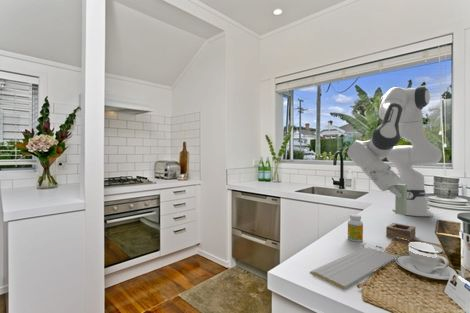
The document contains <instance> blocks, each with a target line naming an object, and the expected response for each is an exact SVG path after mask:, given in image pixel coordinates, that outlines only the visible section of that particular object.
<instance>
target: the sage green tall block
mask: <svg viewBox="0 0 470 313" xmlns="http://www.w3.org/2000/svg"><path fill="white" fill-rule="evenodd" d="M396 189H397V190H398V191H399V192H401V193H402V194H403V196H401V197H400V198H398V197H397V196H396V195H395V199H394V200H395V201H394V202H395V205H394V206H395V207H394V208H395V211H394V213H395V214H396V215H400V216H401V215H402V216H405V214H407V184H396Z"/></svg>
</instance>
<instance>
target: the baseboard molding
mask: <svg viewBox="0 0 470 313" xmlns="http://www.w3.org/2000/svg"><path fill="white" fill-rule="evenodd" d="M360 246H361V248H360V249H357V250H356V251H353V252H351V253H349V254H346V255H344V256H341V257H339V258H337V259H335V260H333V261H331V262H328V263H325V264H324V265H322V266H319V267H316V268H315V269H313V270H311V271H309V273H310V274H311V275H314V276H316V277H318V278H320V279H322V280H324V281H326V282H327V283H330V284H331V285H334V286H336V287H338V288H340V289H342V290H346V289H348V288H350V287H351V286H353V285H355V284H356V283H358V282H360V281H361V280H363V279H365V278H366V277H368V276H370V275H372V274H373V273H374V272H373V271H374V270H375V269H377V268H380V269H382V268H383V267H385V266H387V265H388V263H389V264H390V263H392V262H394V261H395V260H396V259H395V258H397V259H398V255H397V254H398V253H397V252H395V254H392V253H389V252H388V250H386V249H384V248H383V247H381V246H378V245H375V246H373V245H371V244H369V246H367V247H364V246H365V244H361V245H360ZM372 247H374V248H372ZM375 248H377V249H375ZM378 249H380V250H378ZM382 250H384V251H382ZM385 251H387V252H385ZM394 259H395V260H394ZM393 260H394V261H393ZM391 261H392V262H391ZM386 264H387V265H386ZM382 266H383V267H382ZM381 267H382V268H381ZM372 272H373V273H372ZM371 273H372V274H371Z"/></svg>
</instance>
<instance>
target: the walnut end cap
mask: <svg viewBox="0 0 470 313" xmlns="http://www.w3.org/2000/svg"><path fill="white" fill-rule="evenodd" d="M385 231H386V232H385V234H386V235H385V236H386V237H387V238H392V239H395V238H397V237H399V238H404V239H407V240H409V241H410V240H411V241H412V240H413V239H414V238H415V237H416V226H412V225H408V224H407V225H406V224H401V223H397V222H392V223H390V224H389V225H387V226H386V230H385ZM411 241H410V242H411Z"/></svg>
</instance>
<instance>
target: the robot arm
mask: <svg viewBox="0 0 470 313" xmlns="http://www.w3.org/2000/svg"><path fill="white" fill-rule="evenodd" d="M430 99H431V93H430V91H429V88H427V87H422V86H420V87H419V86H418V87H413V88H406V89H405V88H403V87H400V86H397V87H392V88H390V89H388V91H387V92H386V93H385V94H383V95H382V96H381V97H380V100H379V110H378V118H380V120H382V121H381V124H380V125H378V126H377V127H376V128H375V129H374V131H373V132H372V136H371V138H370V139H369V140H364V141H363V140H362V141H361V140H357V139H356V140H354V141H353V142H352V143H351V144H350V145H349V146H348V147H347V150H346V155H347V156H348V158H349V159H351V161H352V162H353V163H354V164H355V165H356V166H357V167H358V168H360V169H361V170H362V172H363V173H364V174H365V175H366V176H367V177H368V178H369V179H370V180H371V181H372V182H373V184H375V186H377V188H378V189H379V190H380V191H382V192H386V191H389V192H390V193H392V194H393V195H394V196H395V197H396V196H397V197H398V198H400V197H401V196H403V194H402V193H401V192H399V191H398V190H397V189H396V184H407V214H405V215H406V216H412V217H413V216H414V217H431V218H432V217H433V211H432V210H431V209H430V207H429V206H428V204H429V201H428V200H427V198H426V190H425V176H424V175H423V174H422V173H421V172H419V171H417V170H415V169H414V168H413V167H412V165H415V166H417V165H418V166H431V165H437V164H438V163H439V162H440V161H441V160H442V157H443V154H442V150H441V149H440V148H439V147H438V146H436V145H434V144H433V143H431V141H429V139H428V138H427V136H426V133H425V130H424V120H423V119H424V118H423V111H422V110H423V108H425V107H426V106H427V105H429V103H430ZM401 138H402V139H403V140H406V141H408V142H410V144H411V145H397V144H398V143H399V142H400V140H401ZM384 159H386V160H387V161H388V162H389V163H390V164H392V165H393V166H394V168H396V170H397V172H398V174H399V175H398V174H397V173H395V172H394V170H392V167H391V165H389V164H386V163H385V162H384V161H383V160H384ZM392 211H393V212H395V207H394V208H392ZM405 215H404V216H405Z"/></svg>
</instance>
